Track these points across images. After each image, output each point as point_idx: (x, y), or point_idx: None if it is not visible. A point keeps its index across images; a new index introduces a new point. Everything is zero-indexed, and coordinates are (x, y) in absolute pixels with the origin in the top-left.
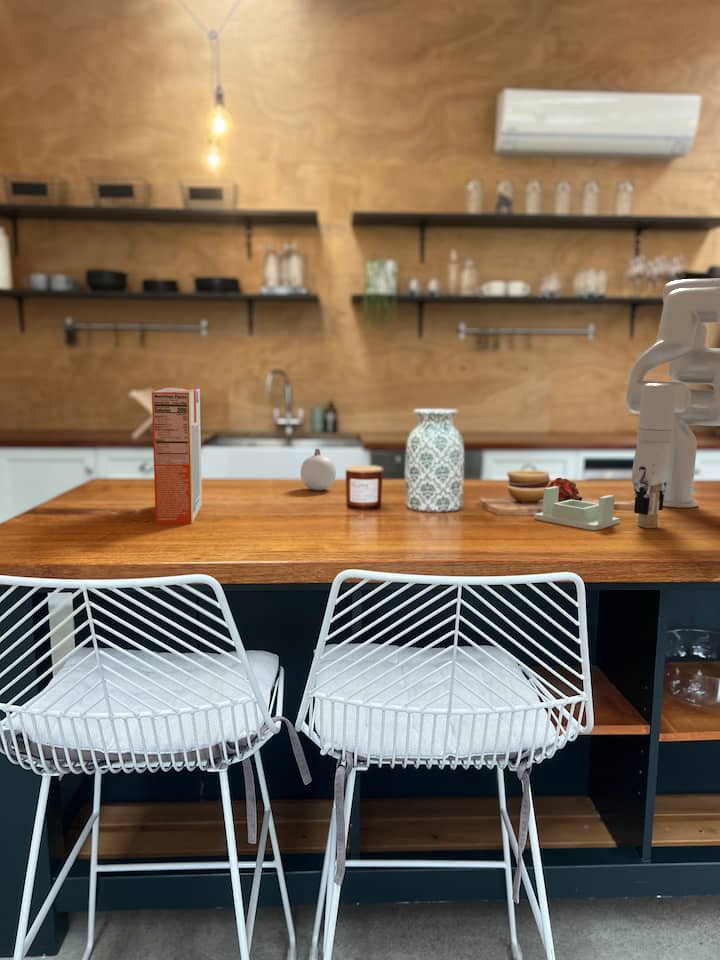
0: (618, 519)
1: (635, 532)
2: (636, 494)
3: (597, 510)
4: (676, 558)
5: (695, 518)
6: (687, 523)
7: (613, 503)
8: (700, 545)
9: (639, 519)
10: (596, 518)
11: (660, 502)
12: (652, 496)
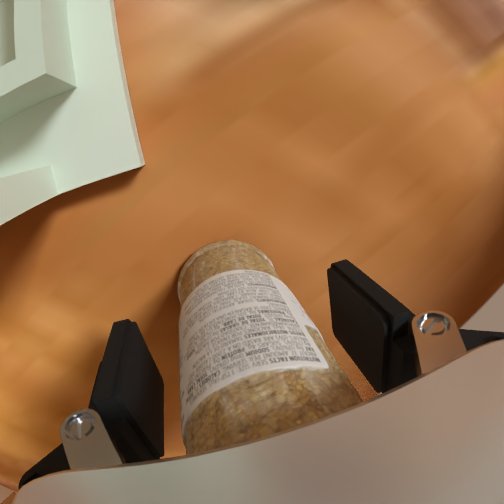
0: (128, 170)
1: (78, 339)
2: (62, 444)
3: (3, 107)
4: None
5: (494, 255)
6: (422, 302)
7: (1, 223)
8: None
9: (185, 284)
10: (16, 119)
11: (354, 356)
12: None
